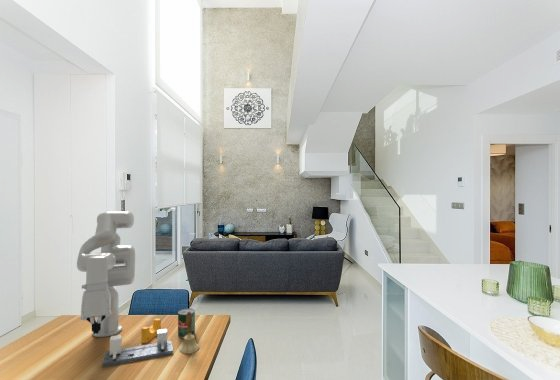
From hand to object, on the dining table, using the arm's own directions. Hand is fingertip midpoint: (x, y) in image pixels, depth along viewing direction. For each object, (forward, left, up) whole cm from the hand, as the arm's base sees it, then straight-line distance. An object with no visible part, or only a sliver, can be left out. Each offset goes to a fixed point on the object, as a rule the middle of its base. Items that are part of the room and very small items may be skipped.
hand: (96, 332), depth 127 cm
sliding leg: (+1, +7, -9) cm, 12 cm away
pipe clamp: (-15, +20, -12) cm, 28 cm away
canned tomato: (-11, +36, -12) cm, 40 cm away
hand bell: (+4, +36, -12) cm, 38 cm away
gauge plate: (+1, +16, -11) cm, 20 cm away
